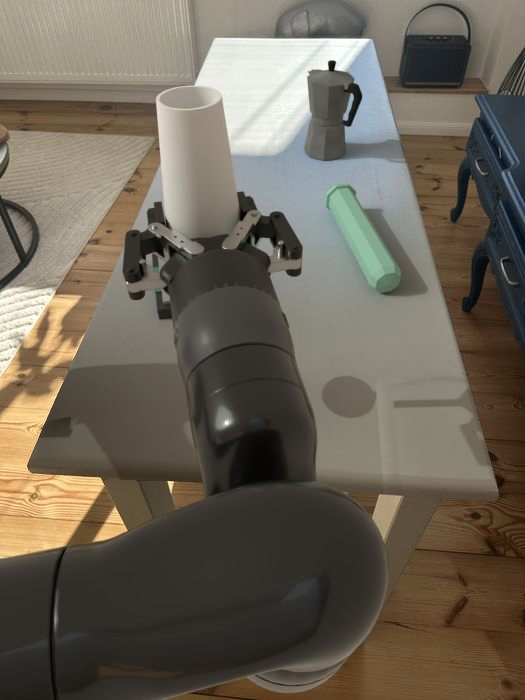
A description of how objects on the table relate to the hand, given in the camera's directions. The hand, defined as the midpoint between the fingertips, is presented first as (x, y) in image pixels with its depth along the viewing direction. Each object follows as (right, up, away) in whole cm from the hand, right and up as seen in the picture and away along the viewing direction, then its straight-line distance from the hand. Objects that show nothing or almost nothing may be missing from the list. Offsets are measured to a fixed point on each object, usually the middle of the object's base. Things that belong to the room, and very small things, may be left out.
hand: (200, 205), depth 44 cm
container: (+22, +4, +39) cm, 45 cm away
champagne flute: (+1, -11, +9) cm, 14 cm away
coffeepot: (+20, +30, +63) cm, 72 cm away
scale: (-4, -2, +33) cm, 33 cm away
